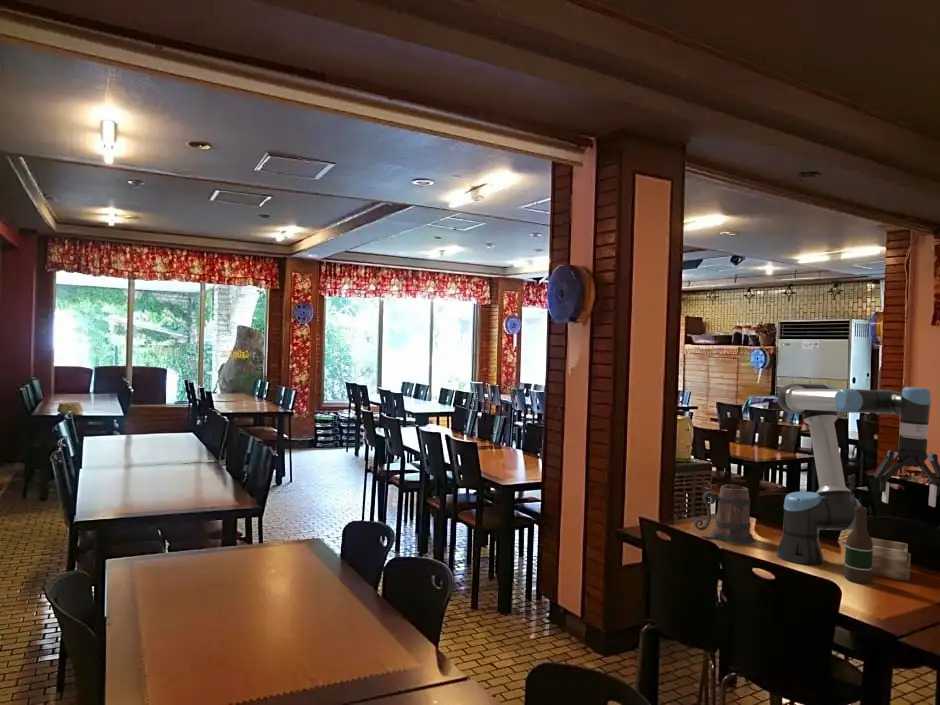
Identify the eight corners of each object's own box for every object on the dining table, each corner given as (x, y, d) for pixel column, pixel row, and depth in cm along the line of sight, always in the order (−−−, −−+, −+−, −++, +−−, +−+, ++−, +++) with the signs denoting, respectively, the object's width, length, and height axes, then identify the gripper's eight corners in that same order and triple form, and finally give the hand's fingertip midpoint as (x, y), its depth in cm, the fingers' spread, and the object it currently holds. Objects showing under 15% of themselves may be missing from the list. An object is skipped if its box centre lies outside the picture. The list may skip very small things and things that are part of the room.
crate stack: (857, 572, 237) (858, 544, 237) (860, 561, 249) (861, 535, 249) (909, 581, 229) (910, 553, 228) (910, 570, 241) (911, 543, 241)
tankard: (745, 532, 284) (748, 484, 284) (762, 544, 267) (764, 492, 267) (688, 530, 285) (690, 481, 285) (700, 541, 268) (703, 489, 268)
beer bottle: (870, 579, 230) (873, 506, 229) (872, 586, 223) (876, 511, 222) (843, 574, 233) (846, 503, 233) (844, 581, 226) (848, 507, 226)
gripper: (875, 435, 216) (870, 503, 217) (963, 441, 212) (958, 510, 213) (865, 432, 223) (860, 497, 224) (950, 437, 219) (945, 504, 220)
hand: (908, 504), depth 218 cm, fingers open, 13 cm apart
